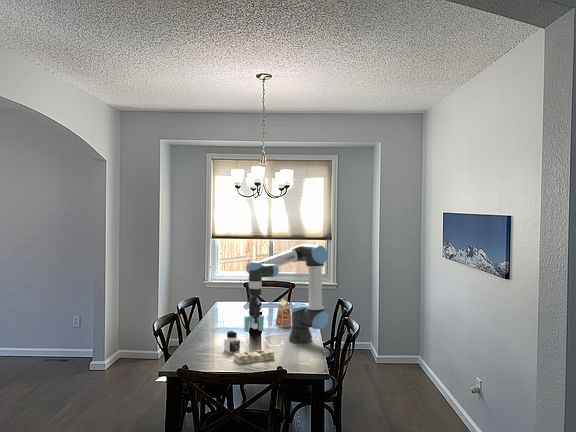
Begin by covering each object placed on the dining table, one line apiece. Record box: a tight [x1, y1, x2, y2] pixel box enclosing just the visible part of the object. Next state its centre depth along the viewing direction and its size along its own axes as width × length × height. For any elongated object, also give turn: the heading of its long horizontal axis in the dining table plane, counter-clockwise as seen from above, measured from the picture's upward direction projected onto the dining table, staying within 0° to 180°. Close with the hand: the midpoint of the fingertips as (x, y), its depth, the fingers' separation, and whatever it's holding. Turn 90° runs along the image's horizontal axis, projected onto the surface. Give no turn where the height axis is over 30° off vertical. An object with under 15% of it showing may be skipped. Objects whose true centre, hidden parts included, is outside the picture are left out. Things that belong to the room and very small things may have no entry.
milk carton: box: [274, 298, 292, 328], centre depth 406 cm, size 9×9×20 cm
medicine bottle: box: [223, 330, 241, 354], centre depth 333 cm, size 7×7×12 cm
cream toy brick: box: [233, 348, 275, 364], centre depth 315 cm, size 22×8×4 cm, turn 117°
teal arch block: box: [243, 314, 265, 333], centre depth 318 cm, size 11×3×8 cm, turn 115°
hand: (253, 328), depth 318 cm, fingers closed on teal arch block, 3 cm apart
